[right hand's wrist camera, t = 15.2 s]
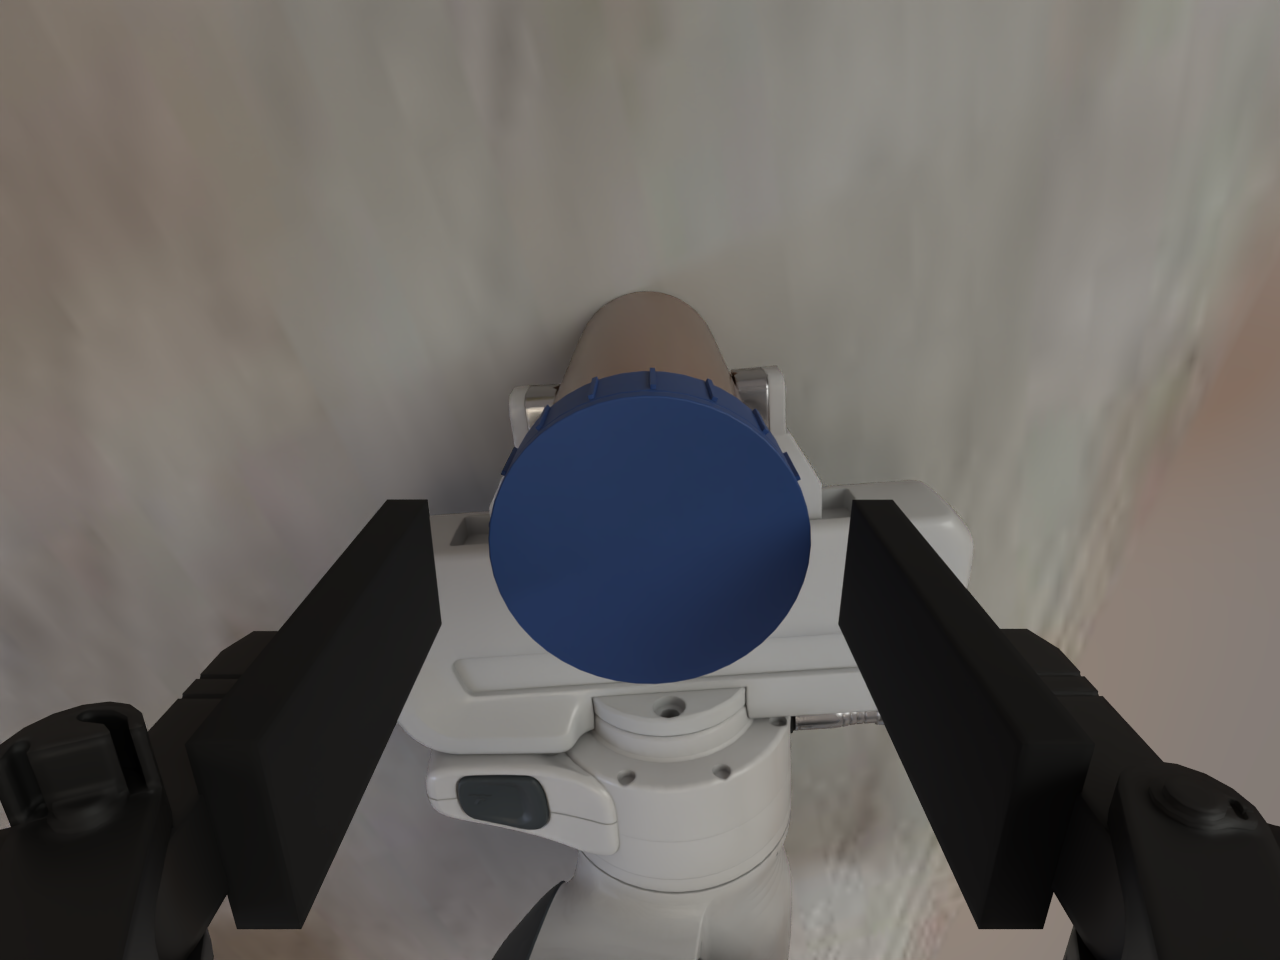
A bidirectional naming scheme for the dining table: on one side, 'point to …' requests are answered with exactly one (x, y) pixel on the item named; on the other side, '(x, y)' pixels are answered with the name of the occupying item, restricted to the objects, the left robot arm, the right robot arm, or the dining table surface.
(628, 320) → the jar
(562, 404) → the lid
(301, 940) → the dining table surface
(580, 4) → the dining table surface
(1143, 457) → the dining table surface
